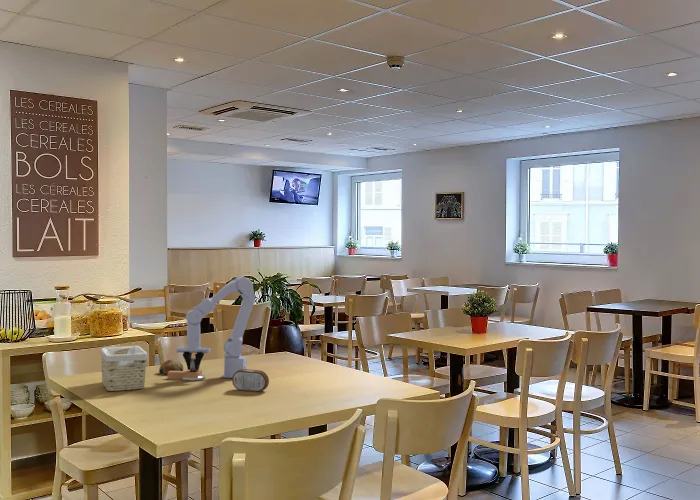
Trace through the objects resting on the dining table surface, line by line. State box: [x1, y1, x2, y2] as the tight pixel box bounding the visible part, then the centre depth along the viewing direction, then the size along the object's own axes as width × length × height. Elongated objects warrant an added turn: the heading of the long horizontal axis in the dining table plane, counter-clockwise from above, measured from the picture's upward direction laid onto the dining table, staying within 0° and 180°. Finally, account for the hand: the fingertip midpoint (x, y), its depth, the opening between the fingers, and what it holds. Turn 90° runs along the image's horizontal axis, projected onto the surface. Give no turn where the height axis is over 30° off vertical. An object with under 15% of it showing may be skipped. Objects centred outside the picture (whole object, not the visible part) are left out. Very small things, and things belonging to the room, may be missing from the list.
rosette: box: [180, 374, 206, 382], centre depth 285 cm, size 10×10×1 cm
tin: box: [231, 368, 270, 393], centre depth 263 cm, size 15×3×8 cm, turn 74°
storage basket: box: [100, 345, 148, 392], centre depth 271 cm, size 24×16×15 cm
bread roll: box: [158, 358, 184, 376], centre depth 298 cm, size 10×10×8 cm
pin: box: [190, 357, 197, 372], centre depth 285 cm, size 3×3×7 cm
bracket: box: [167, 369, 203, 380], centre depth 285 cm, size 14×6×3 cm, turn 84°
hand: (193, 369), depth 285 cm, fingers closed on pin, 3 cm apart
